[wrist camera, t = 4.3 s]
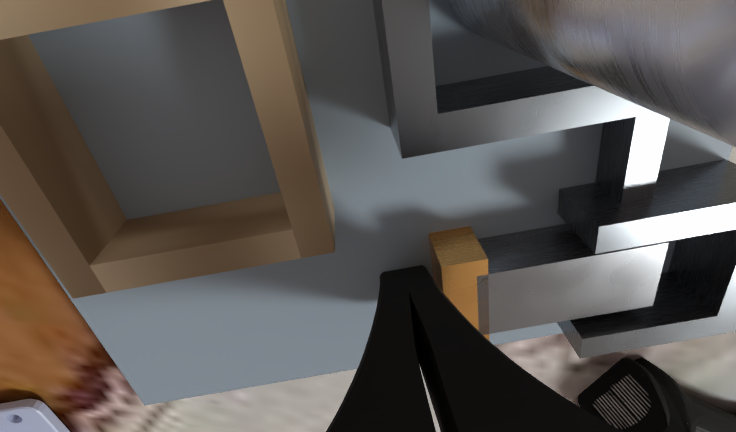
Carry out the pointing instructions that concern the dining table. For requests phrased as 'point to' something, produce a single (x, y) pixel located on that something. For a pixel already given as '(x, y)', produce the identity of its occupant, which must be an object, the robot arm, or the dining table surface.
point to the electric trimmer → (650, 402)
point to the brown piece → (167, 230)
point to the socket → (588, 201)
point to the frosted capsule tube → (628, 50)
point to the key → (540, 277)
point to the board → (257, 177)
